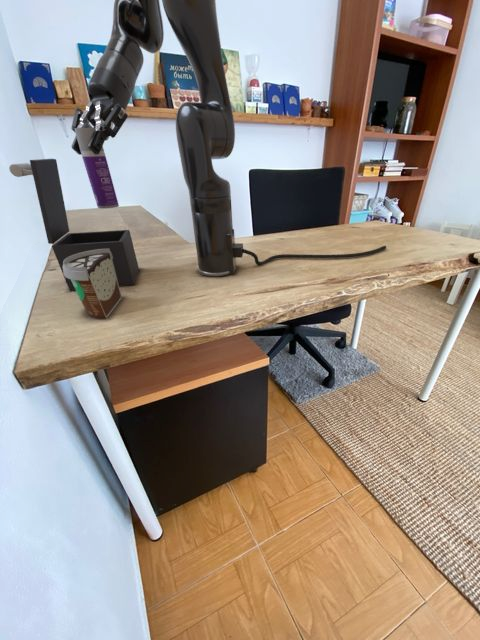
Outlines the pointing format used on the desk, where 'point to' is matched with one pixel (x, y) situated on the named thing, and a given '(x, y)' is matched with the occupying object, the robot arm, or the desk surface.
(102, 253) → the food container
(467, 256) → the desk surface
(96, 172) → the container
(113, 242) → the dark grey open box
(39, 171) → the lid
